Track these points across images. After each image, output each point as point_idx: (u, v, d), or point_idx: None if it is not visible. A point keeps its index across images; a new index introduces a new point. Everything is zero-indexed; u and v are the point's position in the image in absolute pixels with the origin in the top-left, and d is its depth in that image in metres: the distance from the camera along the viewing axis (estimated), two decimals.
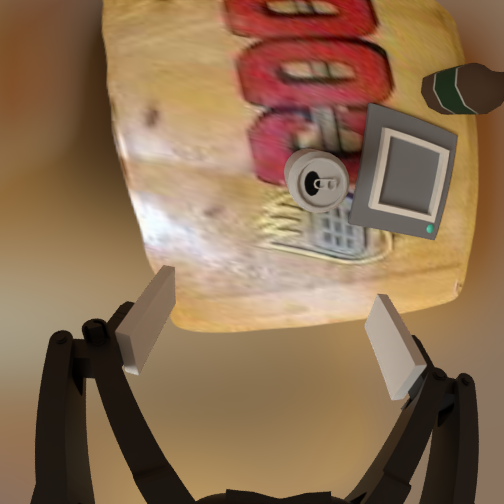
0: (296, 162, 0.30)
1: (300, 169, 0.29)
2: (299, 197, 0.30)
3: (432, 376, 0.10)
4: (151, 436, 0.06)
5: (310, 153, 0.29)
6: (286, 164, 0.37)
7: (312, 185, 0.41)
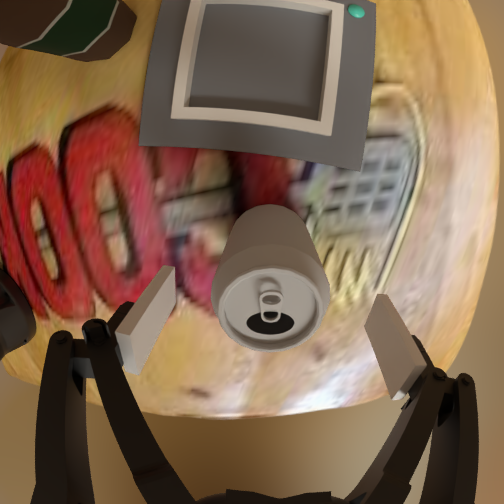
0: None
1: (243, 345, 0.16)
2: (295, 345, 0.16)
3: (432, 376, 0.10)
4: (151, 436, 0.06)
5: (217, 315, 0.17)
6: None
7: None
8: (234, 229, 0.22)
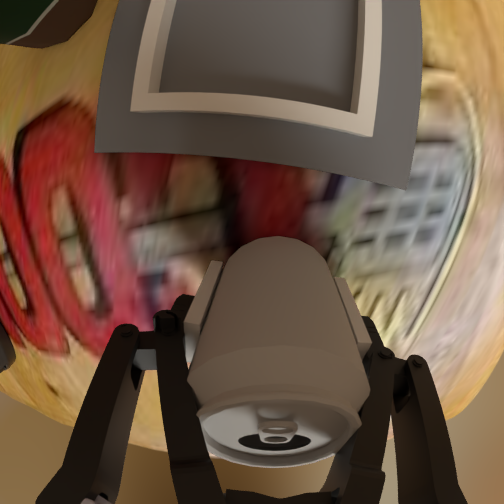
0: None
1: (234, 461, 0.09)
2: (309, 462, 0.09)
3: (378, 356, 0.11)
4: (200, 430, 0.07)
5: None
6: None
7: None
8: (224, 279, 0.14)
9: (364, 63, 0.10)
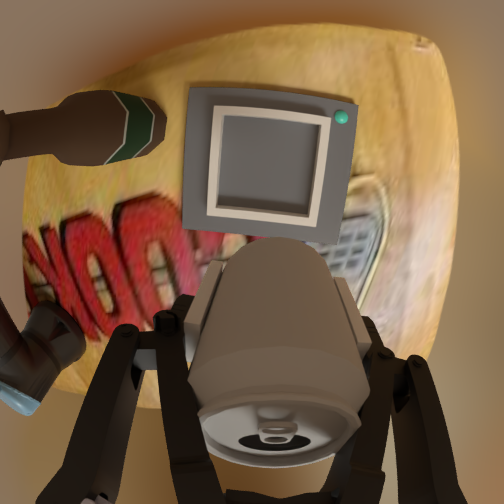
0: None
1: (235, 461, 0.09)
2: (309, 463, 0.09)
3: (378, 356, 0.11)
4: (200, 430, 0.07)
5: None
6: None
7: None
8: (224, 279, 0.14)
9: (313, 193, 0.30)
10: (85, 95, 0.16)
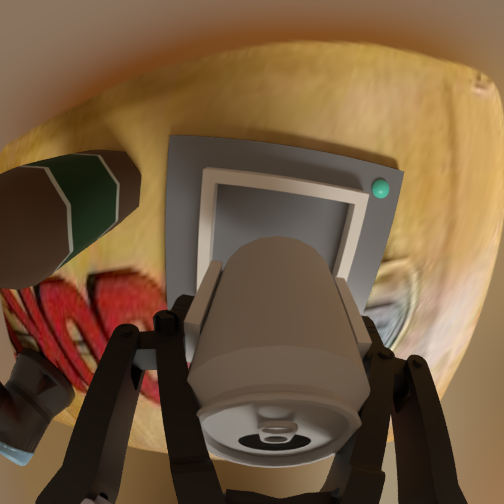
0: None
1: (234, 461, 0.09)
2: (309, 462, 0.09)
3: (378, 356, 0.11)
4: (200, 430, 0.07)
5: None
6: None
7: None
8: (224, 279, 0.14)
9: None
10: None
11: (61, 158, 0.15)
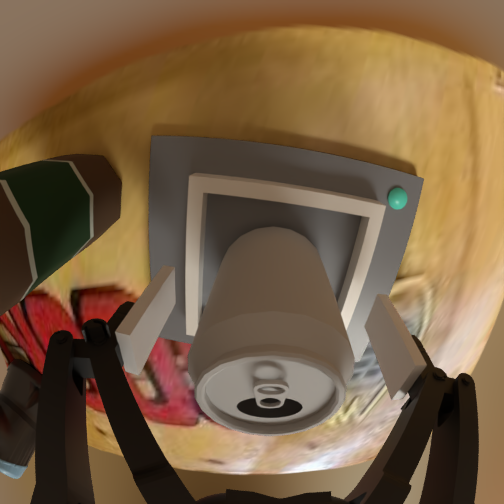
0: None
1: (233, 429, 0.11)
2: (302, 430, 0.11)
3: (432, 376, 0.10)
4: (151, 436, 0.06)
5: None
6: None
7: None
8: (224, 264, 0.16)
9: (341, 315, 0.20)
10: None
11: (27, 167, 0.12)
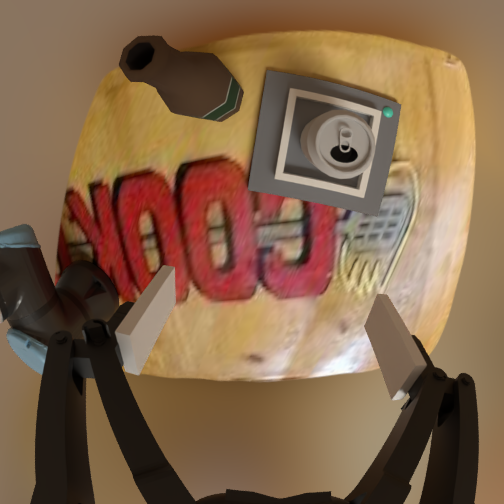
0: (319, 167, 0.27)
1: (328, 166, 0.25)
2: (359, 170, 0.25)
3: (432, 376, 0.10)
4: (151, 436, 0.06)
5: (309, 151, 0.26)
6: None
7: None
8: None
9: None
10: (203, 53, 0.20)
11: None
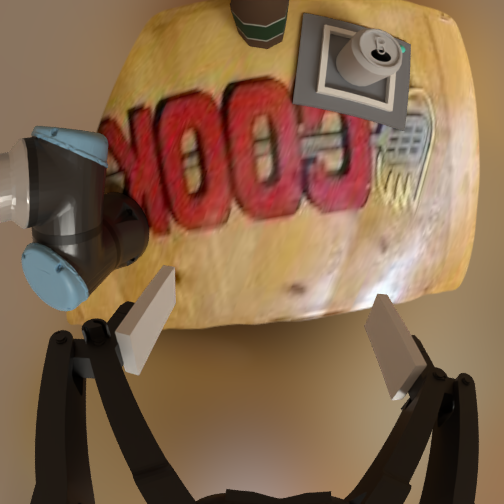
0: (363, 65, 0.26)
1: (371, 61, 0.25)
2: (394, 67, 0.25)
3: (432, 376, 0.10)
4: (151, 436, 0.06)
5: (354, 53, 0.26)
6: (354, 81, 0.34)
7: None
8: (345, 46, 0.30)
9: (390, 88, 0.34)
10: None
11: None
